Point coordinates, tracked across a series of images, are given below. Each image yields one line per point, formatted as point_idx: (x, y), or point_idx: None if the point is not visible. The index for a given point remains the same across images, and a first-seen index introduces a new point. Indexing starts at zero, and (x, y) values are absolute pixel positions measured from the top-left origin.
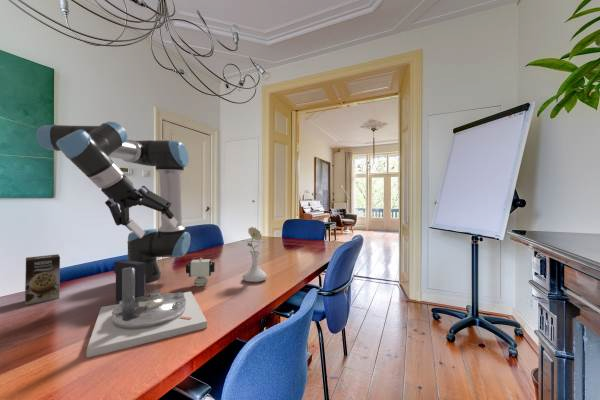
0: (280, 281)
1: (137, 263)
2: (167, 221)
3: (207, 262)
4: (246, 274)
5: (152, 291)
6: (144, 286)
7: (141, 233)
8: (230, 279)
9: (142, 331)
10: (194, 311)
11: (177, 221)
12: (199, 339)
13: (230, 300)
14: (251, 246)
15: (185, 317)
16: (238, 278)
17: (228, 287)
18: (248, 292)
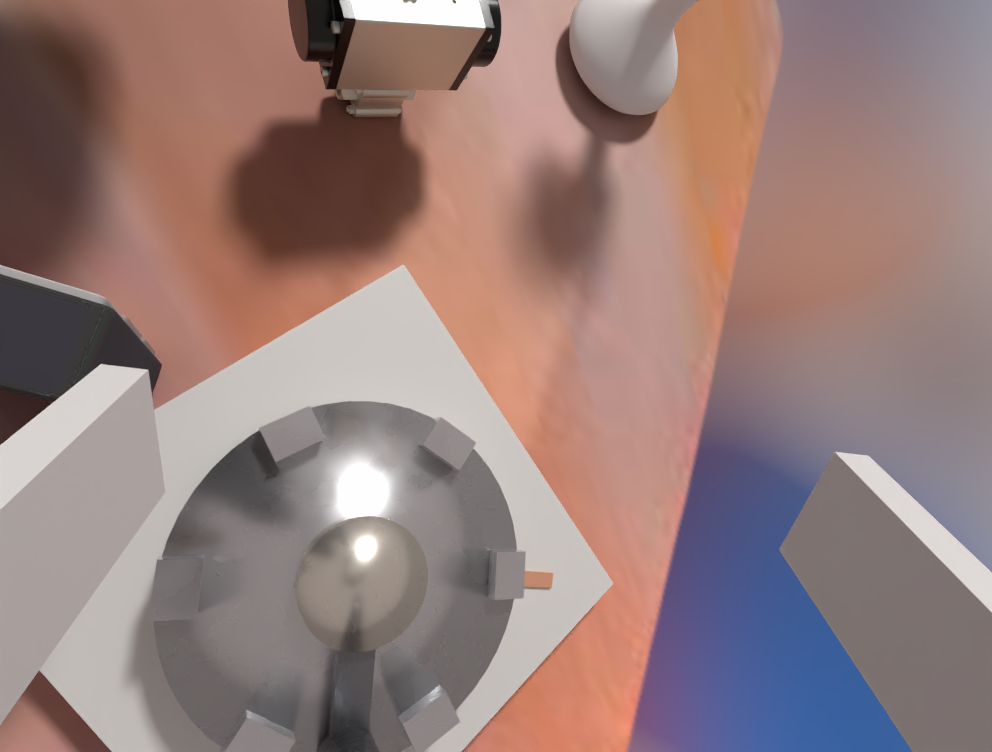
0: (712, 104)
1: (56, 360)
2: (875, 691)
3: (472, 31)
4: (609, 61)
5: (267, 427)
6: (148, 352)
7: (132, 474)
8: None
9: None
10: (533, 509)
11: (878, 465)
12: (606, 659)
13: (590, 322)
14: None
15: (529, 578)
16: (531, 18)
17: (528, 154)
18: (630, 230)
